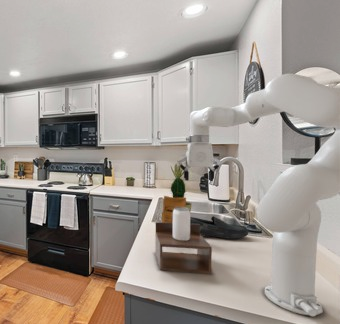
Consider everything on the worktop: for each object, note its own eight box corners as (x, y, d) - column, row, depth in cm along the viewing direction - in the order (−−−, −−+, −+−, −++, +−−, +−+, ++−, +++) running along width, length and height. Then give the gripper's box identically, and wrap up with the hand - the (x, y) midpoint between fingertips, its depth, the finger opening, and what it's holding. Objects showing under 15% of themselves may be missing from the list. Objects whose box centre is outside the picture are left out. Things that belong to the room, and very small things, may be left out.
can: (172, 240, 87) (173, 210, 86) (172, 234, 93) (172, 206, 92) (190, 242, 85) (191, 211, 84) (189, 236, 91) (189, 207, 90)
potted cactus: (163, 222, 141) (164, 175, 140) (190, 224, 136) (191, 175, 135) (162, 229, 127) (163, 177, 126) (192, 233, 122) (193, 178, 120)
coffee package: (163, 233, 121) (163, 193, 120) (188, 238, 114) (188, 196, 113) (158, 239, 113) (158, 196, 112) (184, 245, 106) (184, 199, 105)
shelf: (211, 274, 81) (211, 236, 80) (160, 270, 84) (160, 233, 83) (199, 256, 95) (199, 223, 94) (155, 253, 98) (155, 222, 97)
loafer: (252, 241, 110) (252, 221, 109) (190, 238, 114) (190, 218, 114) (241, 233, 120) (241, 215, 120) (184, 231, 125) (185, 213, 124)
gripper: (179, 140, 92) (179, 181, 93) (225, 139, 89) (224, 181, 90) (175, 141, 100) (175, 179, 100) (217, 140, 97) (216, 179, 97)
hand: (198, 180), depth 95 cm, fingers open, 9 cm apart
